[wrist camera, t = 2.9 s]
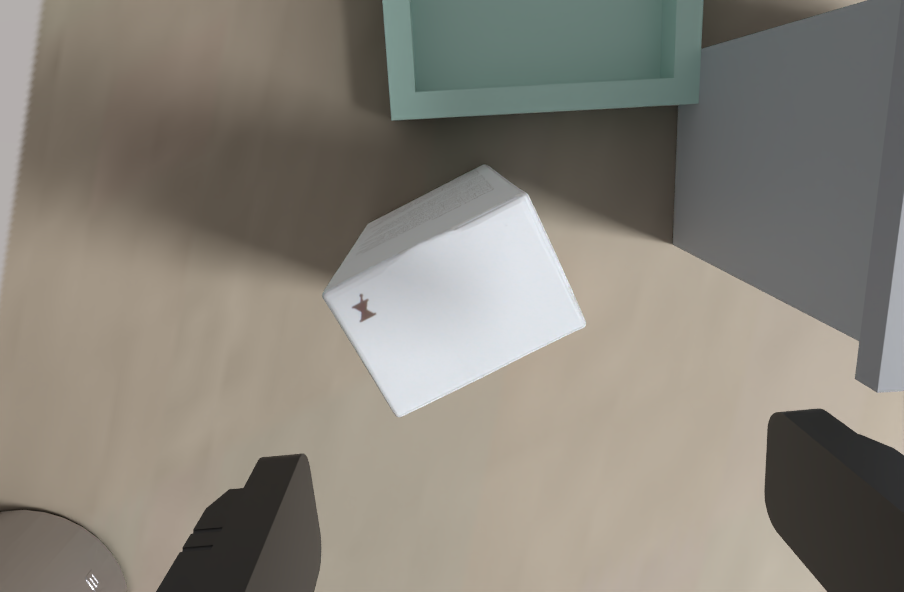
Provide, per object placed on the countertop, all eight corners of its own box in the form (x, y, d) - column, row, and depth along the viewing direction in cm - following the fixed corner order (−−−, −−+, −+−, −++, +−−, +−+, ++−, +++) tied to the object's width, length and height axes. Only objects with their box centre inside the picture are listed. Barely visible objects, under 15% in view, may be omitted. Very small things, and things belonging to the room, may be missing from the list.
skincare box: (410, 305, 29) (390, 425, 17) (365, 223, 28) (312, 292, 16) (531, 246, 28) (593, 329, 17) (489, 159, 27) (524, 184, 16)
